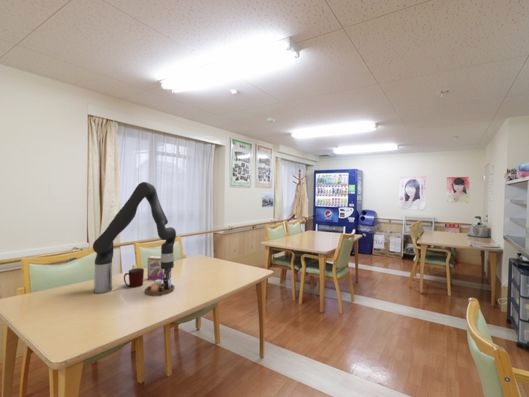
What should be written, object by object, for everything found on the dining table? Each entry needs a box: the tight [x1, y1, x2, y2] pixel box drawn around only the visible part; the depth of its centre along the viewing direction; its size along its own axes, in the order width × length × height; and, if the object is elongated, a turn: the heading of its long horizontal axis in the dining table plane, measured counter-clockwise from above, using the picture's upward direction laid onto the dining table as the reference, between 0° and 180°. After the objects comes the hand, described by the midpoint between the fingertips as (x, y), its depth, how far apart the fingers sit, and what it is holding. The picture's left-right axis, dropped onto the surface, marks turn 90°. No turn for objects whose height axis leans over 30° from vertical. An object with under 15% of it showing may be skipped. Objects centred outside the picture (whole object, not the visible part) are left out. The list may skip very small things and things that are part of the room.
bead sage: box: [153, 279, 163, 287], centre depth 166 cm, size 4×4×5 cm
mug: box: [123, 267, 145, 289], centre depth 170 cm, size 12×9×11 cm
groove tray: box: [144, 282, 175, 297], centre depth 163 cm, size 16×16×3 cm
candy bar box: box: [147, 255, 164, 281], centre depth 185 cm, size 11×5×16 cm, turn 84°
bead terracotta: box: [150, 282, 159, 292], centre depth 159 cm, size 4×4×5 cm
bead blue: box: [165, 278, 172, 289], centre depth 164 cm, size 4×4×5 cm
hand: (167, 287), depth 164 cm, fingers closed on bead blue, 4 cm apart
